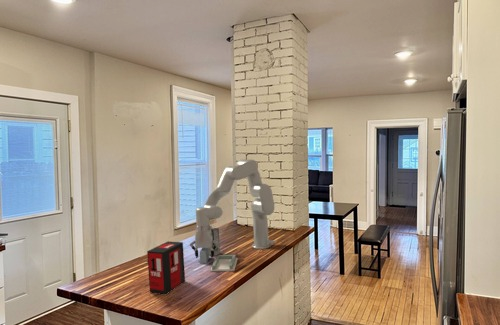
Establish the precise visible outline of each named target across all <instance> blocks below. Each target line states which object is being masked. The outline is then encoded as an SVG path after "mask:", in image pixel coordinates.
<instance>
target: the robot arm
mask: <svg viewBox="0 0 500 325" xmlns="http://www.w3.org/2000/svg"><path fill="white" fill-rule="evenodd" d="M258 168H259V163H258V162H257V161H256V160H254V159H247V158H244V159H243V158H242V159H238V161H237V162H236V165H228V166H226V167H225V168H224V170H223V172H222V174H221V177H220V179H219V180H218V183H217V185H216V188H215V189H213V191H212V192H211V193H210V194H209V196H208V197H207V200H206V201H205V204H204V206H200V207H196V209H195V217H196V220H195V221H196V231H195V237H194V240H193V241H192V242H190V243H189V246H190V248H191V249H192V250H193V251H194V255H195V258H196V259H198V257H199V250H198V249H202V248H210V249H211V255H210V257H211V259H212V258H214V257H215V256H214V249H215V248H216V247H217V245H218V242H216V241H214V240H213V237H212V232H211V230H210V229H211V228H213V226H212V225H211V224H210V220H213V219H215V220H216V219H219V218H221V217H222V215H223V214H224V213H223V209H222V208H221V207H220V206H218V205H217V204H218V202H219V201H220V200H221V199H222V198H223V197H225V196H227V195H229V194H230V192H231V189H232V188H233V186H234V182H235V181H239V180H242V179H245V178H247V182H248V187H249V192H250V195H251V197H253V198H255V199H253V200H252V202H251V204H250V210H251V214H252V225H253V226H252V227H253V229H252V230H253V243H252V244H251V248H253V249H256V250H263V249H264V250H265V249H268V248H271V247H272V245H273V244H276V240H274V239H269V223H268V220H269V219H268V216H271V215H272V214H273V213H274V212H275V200H274V195H273V191H272V188H271V186H269V184H267V183H263V182H262V181H263V180H262V177H261V173H260V172H259V171H260V170H258ZM213 243H214V244H215V246H214V247H213V246H212V245H213ZM194 244H195V245H194Z"/></svg>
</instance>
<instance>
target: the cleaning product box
mask: <svg viewBox="0 0 500 325" xmlns="http://www.w3.org/2000/svg"><path fill="white" fill-rule="evenodd" d="M146 252H147V253H146V254H147V267H148V281H149V282H148V283H149V293H150V292H152V293H151V294H154V293H160V294H159V295H161V294H167V293H168V292H169V293H171V292H172V291H174V290H175V289H177V288H178V287H179V286H180V285H182V284H183V283H185V282H186V273H185V258H184V256H185V254H184V242H183V241H182V242H180V241H169V240H168V241H166V242H163V243H162V244H160V245H157V246H155V247H153V248H151V249H149V250H147V251H146ZM174 288H175V289H174ZM173 289H174V290H173ZM171 290H172V291H171ZM170 291H171V292H170ZM169 293H168V294H169ZM168 294H167V295H168Z"/></svg>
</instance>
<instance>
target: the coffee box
mask: <svg viewBox="0 0 500 325" xmlns="http://www.w3.org/2000/svg"><path fill="white" fill-rule="evenodd" d="M210 230H211V232H212V237H213V240H214V241H216V242H218V245H217V247H216V248H215V249H214V256H213V257H217V255H221V245H220V229H219V228H218V227H212V228H211V229H210ZM212 246H213V247H214V246H215V244H214V243H213V245H212ZM209 256H211V249H210V248H209Z"/></svg>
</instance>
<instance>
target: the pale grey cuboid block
mask: <svg viewBox="0 0 500 325" xmlns="http://www.w3.org/2000/svg"><path fill="white" fill-rule="evenodd" d="M209 259H210V255H209V248H200V251H199V262H200V265H201V264H207V263H208V261H209Z"/></svg>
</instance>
